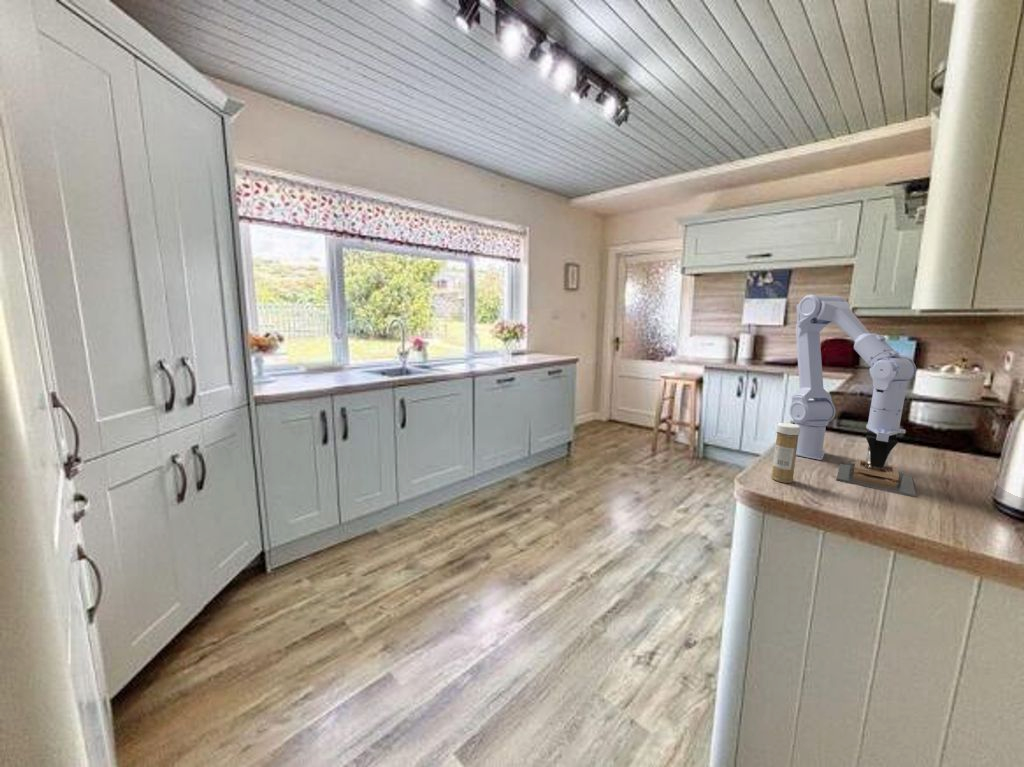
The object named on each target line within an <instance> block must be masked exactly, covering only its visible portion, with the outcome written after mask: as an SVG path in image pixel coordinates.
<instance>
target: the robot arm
mask: <svg viewBox="0 0 1024 767" xmlns="http://www.w3.org/2000/svg"><path fill="white" fill-rule="evenodd" d="M850 307H851V303H849V302H847V301H846V300H845V298H844V297H843V296H842V295H841V296H840V295H816V294H807V295H805V296H804V297H803V298H802V299H801V300H800V301H799V303H798V304H797V305H796V317H797V318H796V319H797V320H796V324H795V336H796V337H795V338H796V354H797V366H798V367H797V369H798V381H799V383H798V384H799V389H798V390H797V391H796V392H795V393H794V394H792V396H791V403H790V406H789V415H790V418H791V419H792V423H794V424H795V425H798V426H800V434H799V436H798V443H797V451H796V457H797V456H798V457H804V458H809V459H814V460H817V461H818V460H819V461H822V460H823V459H824V456H825V453H826V451H825V450H823V448H824V441H825V435H826V427H827V426H828V425H829V422H831V421H833V419H835V416H836V407H835V405H834V403H833V401H832V400H833V399H832V394H830V393H829V392H828V391H827V390H826V389H825V388H824V379H823V364H822V363H823V362H822V352H821V351H822V350H821V349H822V348H821V336H820V335H821V334H820V333H821V332H822V330H823V329H824V328H826V327H827V326H829V325H831V324H833V323H835V324H836V325H837V327H839V328H840V329H841V330H842V331H843V332H844V333H845V334H846V335H847V336H848V337H849V338H850V339H852V341H853V342H854V343H853V344H854V345H853V350H854V351H855V352H856V353H857V354H858V355H859V356H860V357H861V358H862V359H863V360H864V361H865V363H866V364H867V365H868V366H869V367H870V368H869V375H870V377H871V379H872V386H873V391H872V396H871V401H870V402H871V403H870V408H869V414H868V415H869V416H868V422H867V424H866V425H865V426H866V427H865V428H866V429H867V431H866V435H865V439H866V442H867V443H868V447H869V448H870V462H871V466H874V467H879V468H883V466H884V464H885V462H886V460H887V457H888V455H889V453H890V454H891V452H892V450H893V449H894V447H896V445H898V440H897V438H898V435H897V434H906V432H907V430H906V428H905V429H904V428H900V425H901V421H902V420H901V419H902V414H903V410H904V402H905V398H906V393H907V387H908V382H909V381H912V380H913V379H914V378H915V376H916V375H917V366H916V364H915V362H914V360H913V359H912V358H910V357H906V356H901V355H900V352H899V351H898V350H894V349H893V347H892V346H891V345H890V344H889V343H888V342H887V341H886V340H887V337H885V336H884V335H883V334H879V333H873V332H872V333H870V331H868V329H867V328H866V326H865V325H864V324H863V323H862V322H861V321H860V320H859V318H858V317H857V316H856V315H855V313H854V312H853V311H852V310H851V308H850ZM889 456H890V455H889Z"/></svg>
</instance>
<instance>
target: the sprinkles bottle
mask: <svg viewBox="0 0 1024 767" xmlns="http://www.w3.org/2000/svg"><path fill="white" fill-rule="evenodd" d="M799 434H800V426H798V425H795V423H789V422H779V423H777V426H776V440H775V446H774V447H775V448H774V451H773V452H774V453H773V460H772V471H771V472H772V473H771V475H770V477H771V479H772V480H774V481H776V482H779V483H786V484H790V483H793V481H794V475H795V474H794V473H795V468H796V459H797V455H796V451H797V443H798V436H799Z"/></svg>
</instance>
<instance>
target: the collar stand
mask: <svg viewBox="0 0 1024 767" xmlns="http://www.w3.org/2000/svg"><path fill="white" fill-rule="evenodd" d="M865 465H866V460H863V459H862V460H861V459H855V461H851V462H850V465H848V464H843V463H839V467H838V471H837V475H836V481H838V482H843V483H848V484H851V485H852V484H853V485H856V486H862V487H866V488H872V489H876V490H881V491H886V492H890V493H895V494H899V495H904V496H909V497H913V498H915V497H916V491H915V486H914V482H913V478H912V476H906V475H904V472H903V470H899V467H898V466H895V465H894V466H893V465H890V464H888V466H887V472H882V471H877V470H872V469H866V468H865ZM862 466H863V467H862ZM889 471H890V472H889ZM868 474H870V475H868ZM872 475H875V476H872ZM876 476H880V477H876Z"/></svg>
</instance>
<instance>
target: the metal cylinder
mask: <svg viewBox="0 0 1024 767" xmlns="http://www.w3.org/2000/svg"><path fill="white" fill-rule="evenodd" d="M866 454H867V455H866V460H865V461H866V465H865V466H864V468H866V469H872V470H877V471H882V472H888V470H887V466H888V465H889V459H890V454H891V452H890V453H889V455H888V457H887V460H886V462H885V464H884V466H883V468H879V467H874V466H871V462H870V448H869V446H868V447H867V453H866ZM868 475H870V474H868ZM872 476H875V475H872ZM876 477H880V476H876Z"/></svg>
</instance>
